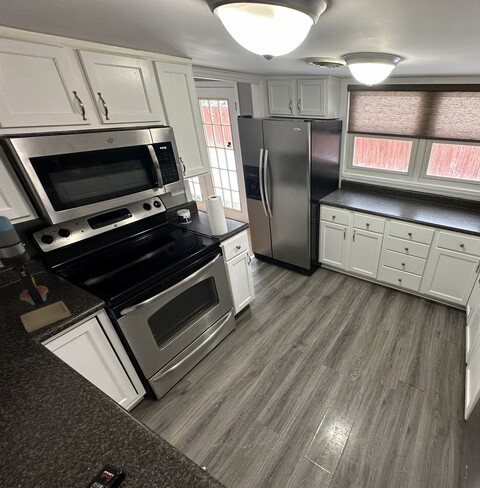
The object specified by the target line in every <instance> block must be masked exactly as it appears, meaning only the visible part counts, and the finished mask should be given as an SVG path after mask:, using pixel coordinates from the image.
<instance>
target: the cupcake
mask: <svg viewBox="0 0 480 488" xmlns="http://www.w3.org/2000/svg"><path fill="white" fill-rule="evenodd" d="M31 279H32V281H33V283H34V285H35V287H36V288H37V289H38V291H39V293H40V295H41V297H42V299H43V301H44V302H45V301H47V293H48V292H49V289H48V288H47V286H44V285H36V281H35V277H33V275H31ZM26 293H28V290H27V289H26V288H25V289H24V290H22V291H21V292H20V293H19V299H20V301H26V302H28V303H29V304H30V305H32V306H34V305H35V304H34V302H33V300H32V298H31V296H30V295H29V294H28V295H27V294H26ZM35 306H36V305H35Z"/></svg>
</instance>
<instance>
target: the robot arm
mask: <svg viewBox="0 0 480 488" xmlns="http://www.w3.org/2000/svg"><path fill="white" fill-rule="evenodd" d="M25 246H26V244H25V243H22V241H21V239H20V237H19V234H18V232H17V231H16V229H15V226H14V224H13V223H12V222H11V220H10V218H9V217H7V216H6V215H5V216H4V215H0V263H1V265H2V266H3V267H6V268H11V269H12V270H13V272H14V274H16V275H17V277H18V279H19V280H21V282H22V284H23V286H24V287H25V290H26V289H27V290H28V293H26V294H27V295H28V294H29V295H30V296H31V298H32V300H33V302H34V304H35V307H38V306H40V305H44V304H45V301H43V299H42V297H41V295H40V293H39V291H38V289H37V288H36V287H35V285H36V284H35V285H34V283H33V281H32V279H31V278H32V274H31V273H30V270H29V267H28V265H27V263H29V262H30V260H31V258H30V256H29V254H28V252H27V251H26V249H25Z"/></svg>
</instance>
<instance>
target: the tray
mask: <svg viewBox="0 0 480 488" xmlns="http://www.w3.org/2000/svg"><path fill="white" fill-rule="evenodd" d="M71 316H72V313H71V311H70V310H69V308H68V307H67V306H66V304H65V303H64V301H63V300H60V301H57V302H54V303H51V304H49V305H48V304H47V305H46V306H43V307H40V308H38V309H35V310H32V311H29V312H27V313H23V314H21V315H19V317H20V320H21V322H22V324H23V326H24V329H25V331H26V332H27V333H28V334H29V333H32V332H34V331H36V330H38V329H41V328H44V327H46V326H49V325H51V324H54V323H56V322H58V321H61V320H63V319H66V318H68V317H71Z"/></svg>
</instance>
